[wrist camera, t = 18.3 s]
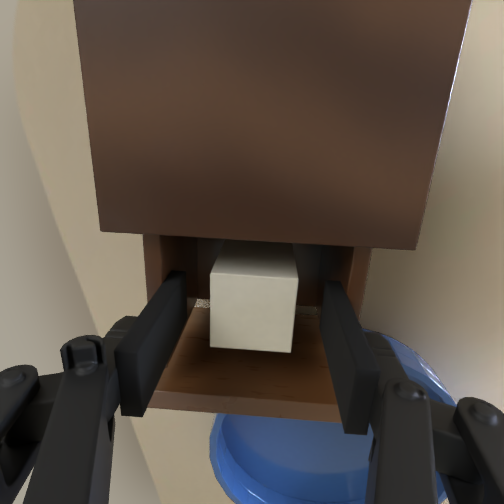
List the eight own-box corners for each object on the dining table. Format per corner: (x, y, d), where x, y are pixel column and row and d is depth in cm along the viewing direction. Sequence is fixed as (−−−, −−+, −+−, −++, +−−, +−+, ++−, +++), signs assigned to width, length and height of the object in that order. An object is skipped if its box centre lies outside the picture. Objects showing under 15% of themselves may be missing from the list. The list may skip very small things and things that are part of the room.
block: (228, 282, 23) (209, 347, 16) (229, 227, 22) (209, 273, 15) (285, 285, 23) (291, 353, 16) (290, 230, 22) (298, 278, 15)
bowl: (215, 490, 34) (209, 529, 31) (217, 316, 27) (209, 342, 24) (418, 508, 33) (434, 550, 30) (474, 334, 26) (503, 364, 23)
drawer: (327, 342, 26) (353, 442, 18) (182, 332, 26) (142, 424, 18) (353, 161, 21) (405, 181, 13) (176, 152, 22) (117, 167, 13)
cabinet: (354, 198, 23) (416, 251, 13) (172, 188, 23) (99, 232, 14) (391, -49, 18) (534, -263, 8) (163, -55, 19) (40, -263, 9)
